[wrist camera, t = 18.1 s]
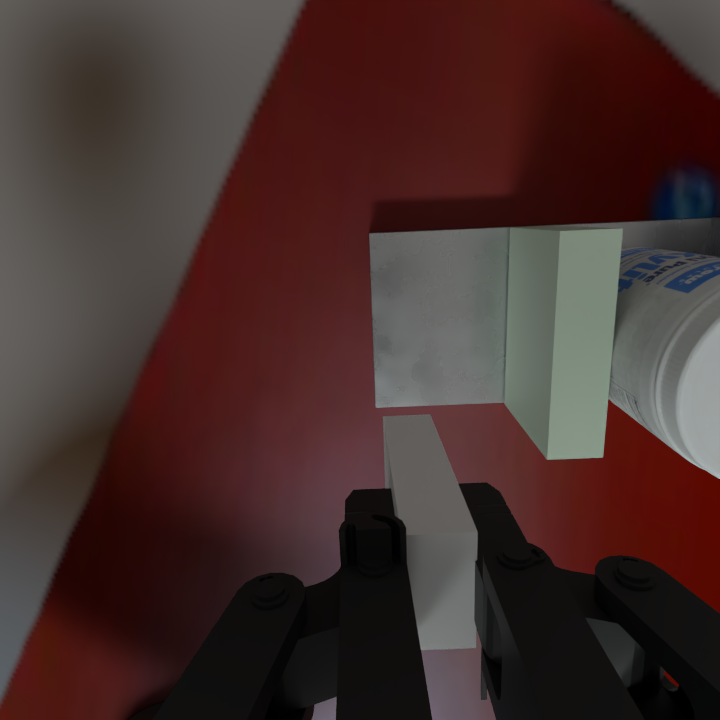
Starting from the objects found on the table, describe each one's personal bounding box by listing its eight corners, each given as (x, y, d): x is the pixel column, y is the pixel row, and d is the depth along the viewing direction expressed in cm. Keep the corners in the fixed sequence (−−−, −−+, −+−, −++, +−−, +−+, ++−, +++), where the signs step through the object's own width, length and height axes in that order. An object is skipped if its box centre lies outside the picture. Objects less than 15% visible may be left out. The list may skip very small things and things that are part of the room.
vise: (375, 398, 39) (380, 466, 28) (368, 232, 36) (372, 239, 25) (726, 384, 39) (865, 447, 28) (751, 215, 35) (918, 215, 25)
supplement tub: (621, 216, 34) (812, 215, 19) (723, 304, 35) (970, 363, 21) (520, 334, 36) (626, 412, 21) (621, 412, 37) (783, 534, 23)
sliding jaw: (504, 403, 37) (547, 459, 28) (510, 227, 33) (559, 231, 25) (547, 402, 37) (603, 457, 28) (557, 225, 33) (623, 228, 25)
